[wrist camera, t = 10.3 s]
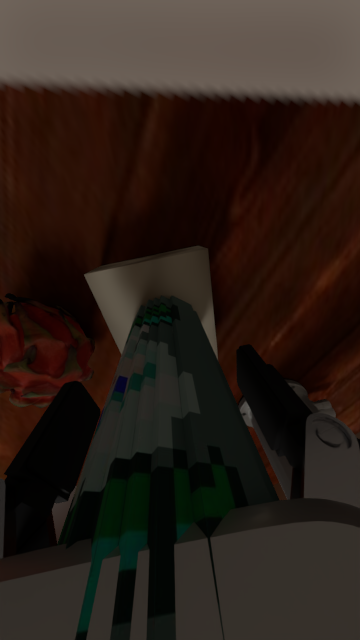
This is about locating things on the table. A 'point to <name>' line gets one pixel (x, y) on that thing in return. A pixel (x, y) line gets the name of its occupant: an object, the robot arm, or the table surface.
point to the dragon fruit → (40, 351)
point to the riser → (153, 288)
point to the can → (161, 463)
